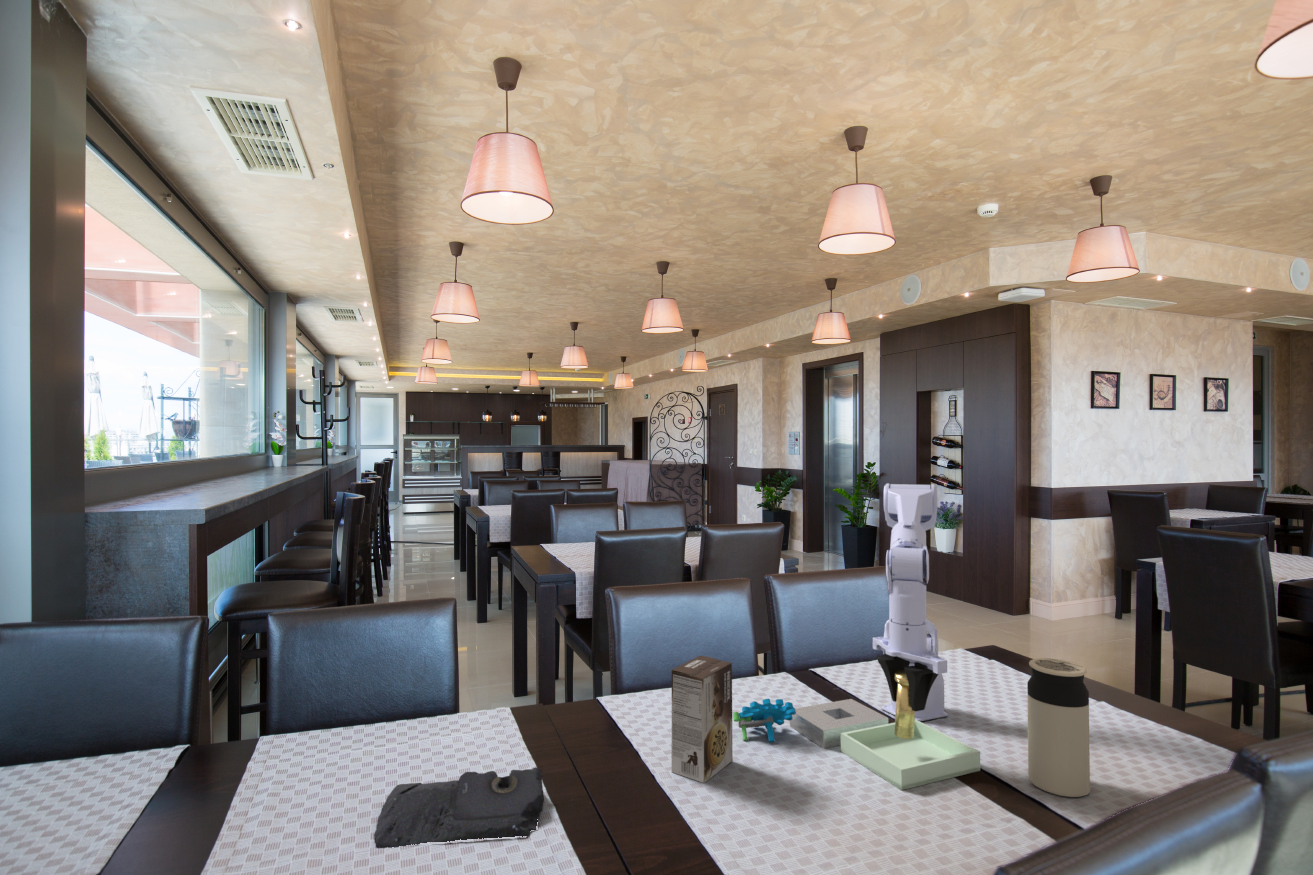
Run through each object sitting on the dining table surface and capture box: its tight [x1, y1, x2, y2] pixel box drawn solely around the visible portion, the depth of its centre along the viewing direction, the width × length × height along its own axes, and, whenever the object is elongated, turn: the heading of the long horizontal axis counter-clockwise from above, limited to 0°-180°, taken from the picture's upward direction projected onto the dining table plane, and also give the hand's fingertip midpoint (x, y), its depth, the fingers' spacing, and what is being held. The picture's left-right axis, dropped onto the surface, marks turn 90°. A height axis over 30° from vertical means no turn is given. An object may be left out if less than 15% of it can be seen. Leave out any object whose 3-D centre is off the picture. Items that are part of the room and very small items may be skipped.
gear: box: [732, 698, 796, 744], centre depth 117 cm, size 11×6×10 cm
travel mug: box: [1026, 657, 1091, 798], centre depth 101 cm, size 8×8×18 cm
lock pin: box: [894, 670, 915, 739], centre depth 109 cm, size 4×4×10 cm
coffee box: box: [670, 655, 734, 784], centre depth 106 cm, size 9×6×16 cm
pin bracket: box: [789, 698, 889, 749], centre depth 120 cm, size 14×10×3 cm
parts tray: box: [840, 719, 981, 791], centre depth 109 cm, size 16×14×3 cm
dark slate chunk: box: [373, 766, 545, 849], centre depth 93 cm, size 15×22×5 cm
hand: (908, 704), depth 109 cm, fingers closed on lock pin, 4 cm apart
